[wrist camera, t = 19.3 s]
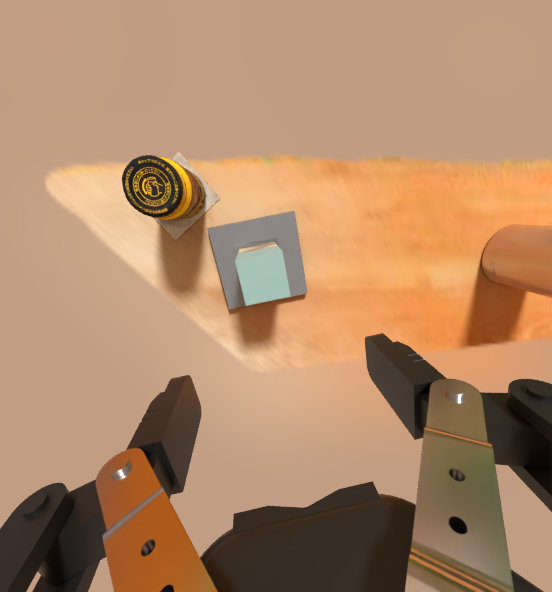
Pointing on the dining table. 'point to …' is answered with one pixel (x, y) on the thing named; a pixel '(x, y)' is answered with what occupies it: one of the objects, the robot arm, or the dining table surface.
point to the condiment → (167, 191)
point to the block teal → (262, 275)
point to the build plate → (252, 234)
